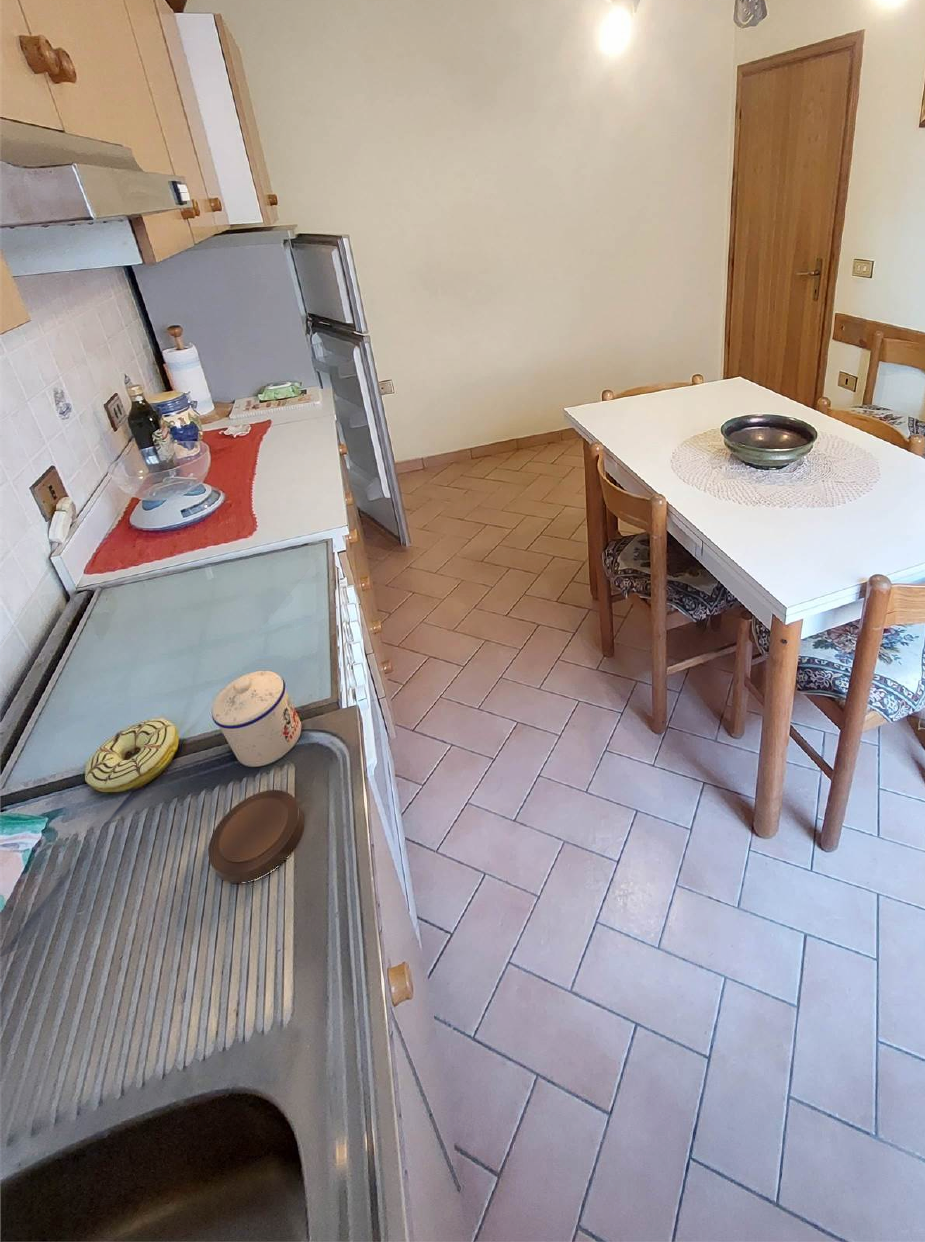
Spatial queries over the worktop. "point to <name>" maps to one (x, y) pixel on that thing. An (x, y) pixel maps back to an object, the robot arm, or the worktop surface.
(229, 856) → the plate
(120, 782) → the decorated donut
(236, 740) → the teacup with lid
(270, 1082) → the worktop surface
